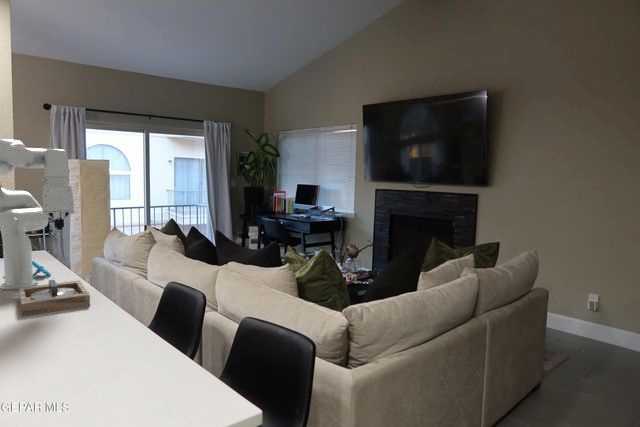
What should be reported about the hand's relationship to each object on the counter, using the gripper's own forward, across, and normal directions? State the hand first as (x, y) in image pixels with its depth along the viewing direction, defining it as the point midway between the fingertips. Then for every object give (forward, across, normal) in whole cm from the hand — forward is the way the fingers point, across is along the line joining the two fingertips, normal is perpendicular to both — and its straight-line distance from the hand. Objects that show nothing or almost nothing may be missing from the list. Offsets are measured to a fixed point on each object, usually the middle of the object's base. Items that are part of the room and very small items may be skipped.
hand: (59, 229), depth 169 cm
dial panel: (+25, -4, -12) cm, 28 cm away
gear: (+25, -5, +34) cm, 43 cm away
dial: (+23, -4, -12) cm, 26 cm away
